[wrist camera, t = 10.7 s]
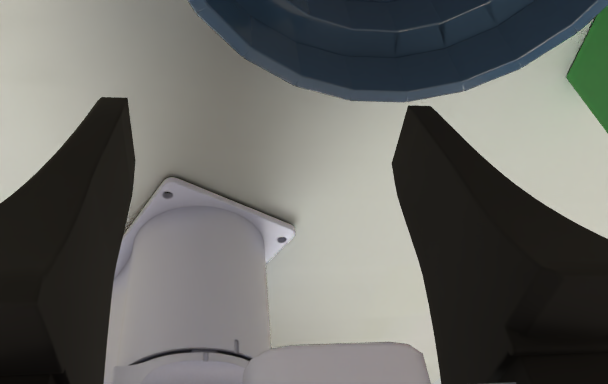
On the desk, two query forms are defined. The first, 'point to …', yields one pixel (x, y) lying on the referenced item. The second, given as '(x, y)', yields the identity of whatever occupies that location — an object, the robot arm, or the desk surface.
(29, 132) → the desk surface
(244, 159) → the desk surface
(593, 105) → the green rectangular block
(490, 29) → the bowl
